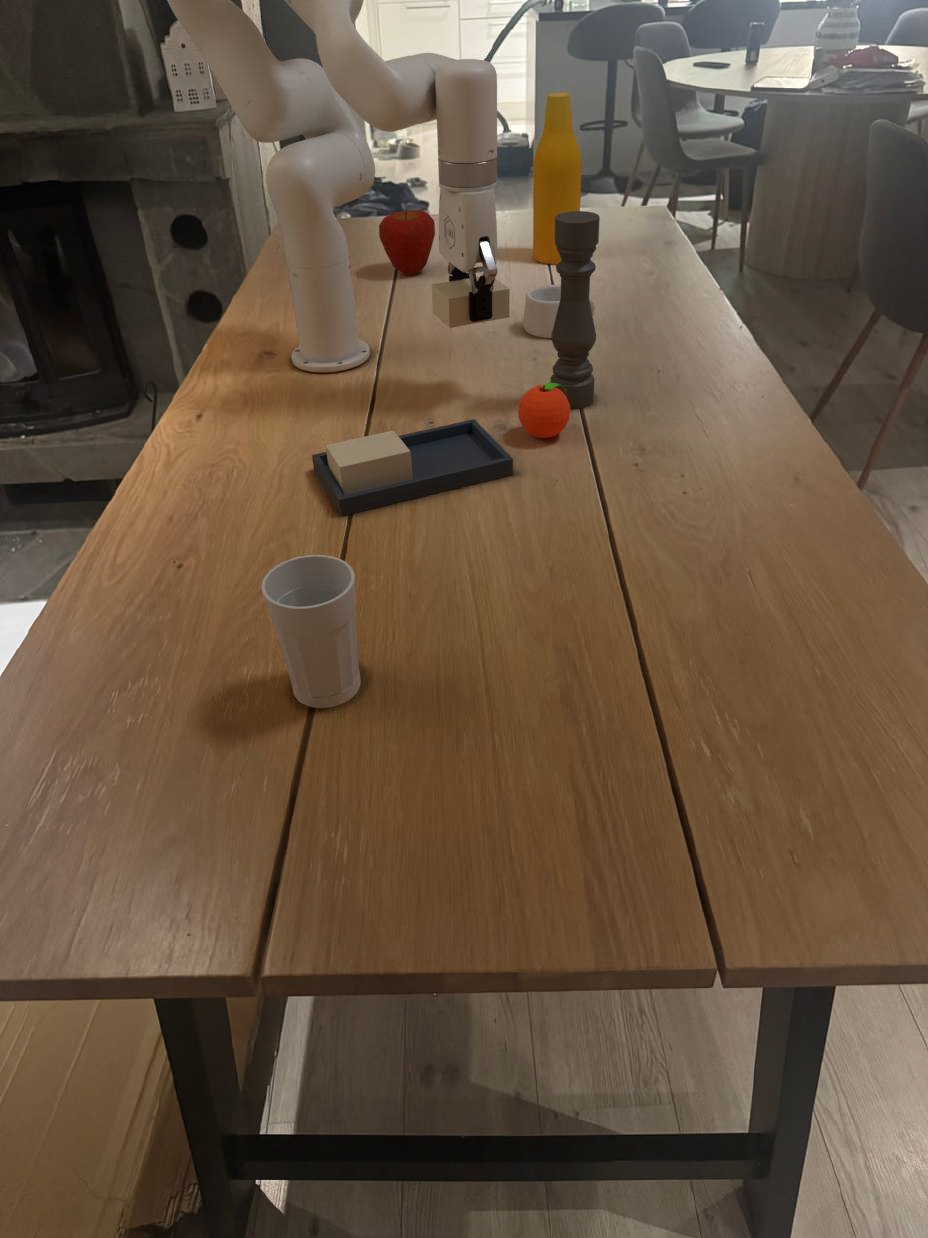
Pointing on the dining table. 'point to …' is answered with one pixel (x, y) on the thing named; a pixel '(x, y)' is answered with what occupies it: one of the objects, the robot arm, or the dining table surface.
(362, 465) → the block
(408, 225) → the apple
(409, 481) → the dark grey flat tray
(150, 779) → the dining table surface
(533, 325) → the mug
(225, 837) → the dining table surface
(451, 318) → the beige rectangular block
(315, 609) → the cup
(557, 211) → the beer bottle
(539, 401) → the clementine
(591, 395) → the candle holder
